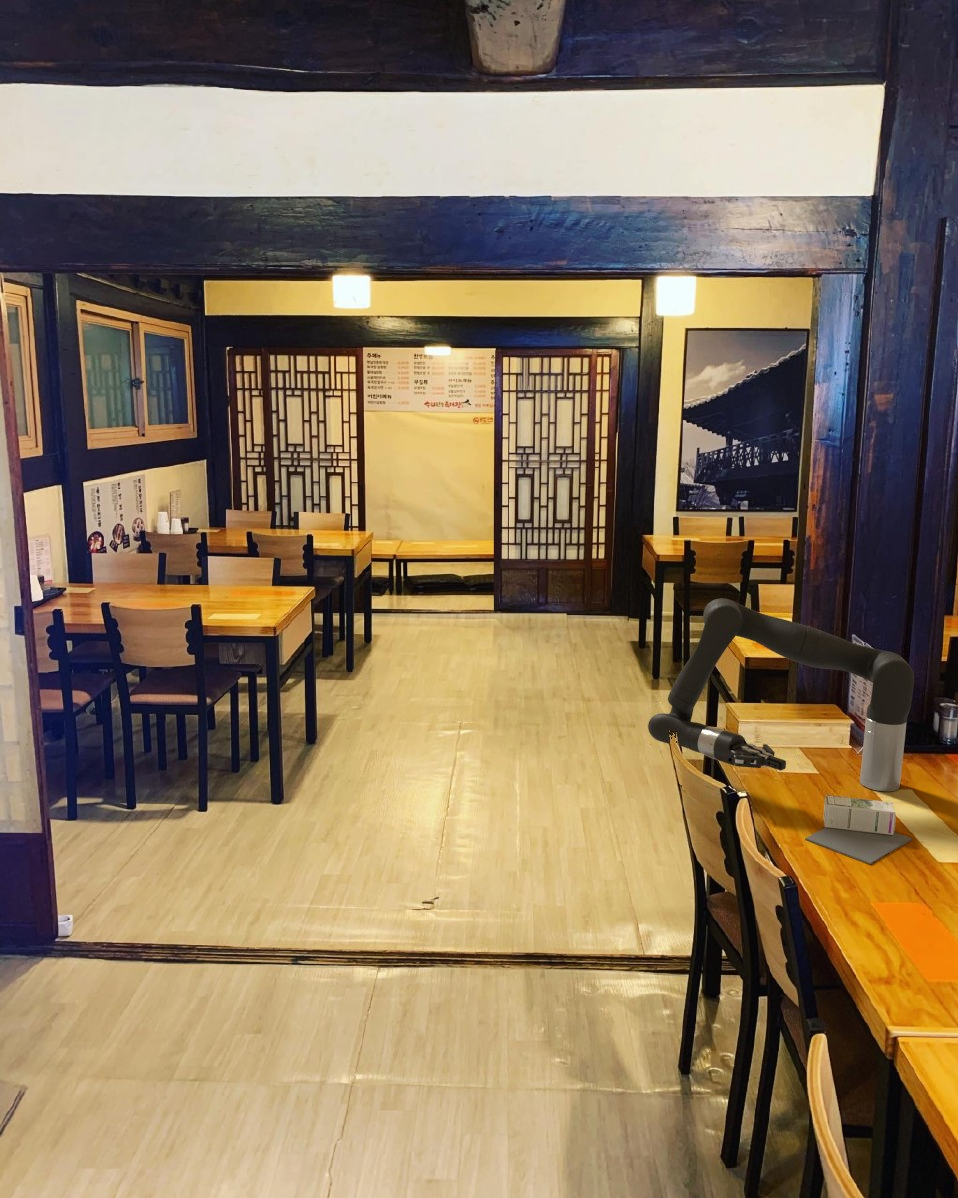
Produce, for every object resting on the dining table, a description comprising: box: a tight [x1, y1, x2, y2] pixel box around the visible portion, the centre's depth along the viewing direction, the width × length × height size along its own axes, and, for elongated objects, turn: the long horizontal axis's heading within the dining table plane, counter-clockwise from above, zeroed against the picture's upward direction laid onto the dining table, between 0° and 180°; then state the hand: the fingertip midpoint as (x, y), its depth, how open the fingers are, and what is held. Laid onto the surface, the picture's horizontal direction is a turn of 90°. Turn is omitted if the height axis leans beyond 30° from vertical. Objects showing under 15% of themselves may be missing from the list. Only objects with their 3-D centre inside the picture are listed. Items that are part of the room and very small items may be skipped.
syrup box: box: [822, 794, 897, 835], centre depth 221 cm, size 6×6×14 cm
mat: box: [804, 827, 913, 865], centre depth 216 cm, size 18×15×1 cm
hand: (784, 765), depth 228 cm, fingers closed
